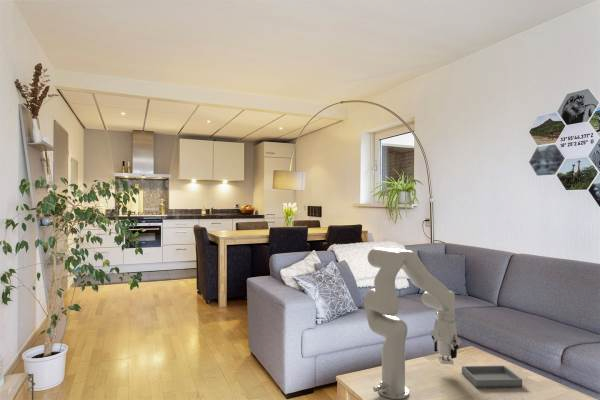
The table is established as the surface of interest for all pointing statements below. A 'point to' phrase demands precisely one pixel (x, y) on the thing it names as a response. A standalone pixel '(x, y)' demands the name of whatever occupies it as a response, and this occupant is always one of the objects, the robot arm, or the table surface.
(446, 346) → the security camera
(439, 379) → the table surface
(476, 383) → the parts tray
